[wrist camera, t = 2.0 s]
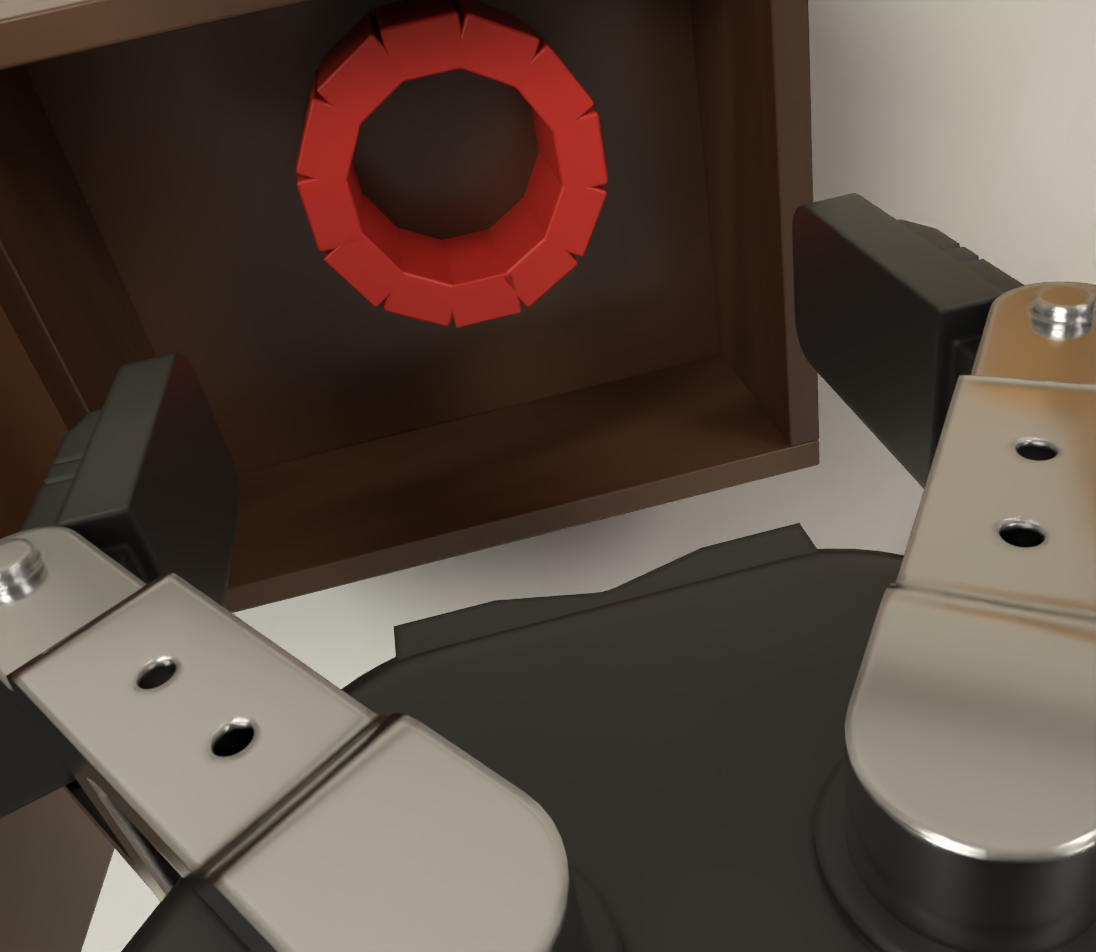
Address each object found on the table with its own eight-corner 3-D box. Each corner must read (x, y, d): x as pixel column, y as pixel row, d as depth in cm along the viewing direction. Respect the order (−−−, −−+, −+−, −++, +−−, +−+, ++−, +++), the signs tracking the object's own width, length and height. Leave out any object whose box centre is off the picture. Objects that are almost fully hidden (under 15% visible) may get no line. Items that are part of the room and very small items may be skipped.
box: (699, -159, 20) (804, -160, 16) (738, 359, 27) (820, 465, 23) (-30, 3, 20) (-148, 51, 15) (200, 492, 27) (168, 630, 22)
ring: (552, -34, 21) (581, -17, 18) (596, 242, 24) (624, 288, 22) (265, 31, 20) (253, 56, 18) (351, 301, 24) (351, 354, 21)
